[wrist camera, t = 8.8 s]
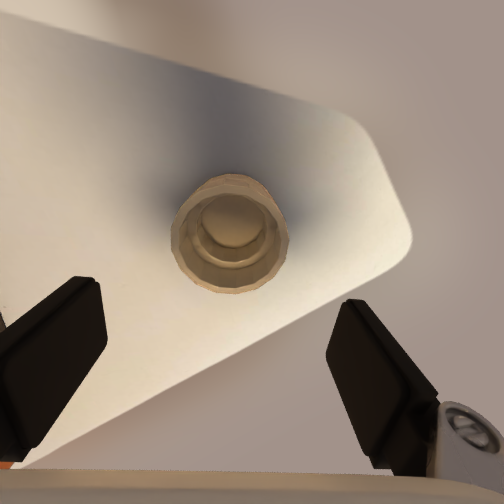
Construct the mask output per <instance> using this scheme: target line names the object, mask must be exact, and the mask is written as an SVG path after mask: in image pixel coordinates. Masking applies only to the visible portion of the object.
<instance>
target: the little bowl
mask: <svg viewBox="0 0 504 504" xmlns="http://www.w3.org/2000/svg"><path fill="white" fill-rule="evenodd" d="M288 245H289V236H288V231H287V227H286V222H285V219H284V217H283V215H282V213H281V211H280V210H279V208H278V206H277V204H276V202H275V201H274V199H273V198H272V196H271V195H270V194H269V192H268V191H267V190H266V188H265V187H264V186H263V185H262V184H261V183H259V182H257V181H255V180H254V179H252V178H250V177H249V176H246V175H239V174H231V173H228V174H223V175H220V176H217V177H213V178H211V179H209V180H207V181H206V182H205V183H204V184H203V185H202V186H200V187H199V188H198V189H197V190H196V191H195V192H194V193H193V194H192V195H191V196H190V197H189V198H188V199H187V200H186V202H185V203H184V204H183V205H182V206H181V207H180V209H179V211H178V213H177V215H176V218H175V220H174V222H173V224H172V226H171V250H172V253H173V255H174V257H175V259H176V261H177V263H178V266H179V268H180V269H181V271H182V272H184V273H185V274H186V275H187V276H188V277H189V278H190V279H191V280H192V281H193V282H194V283H195V284H197V285H199V286H201V287H204V288H206V289H208V290H211V291H213V292H216V293H227V294H239V293H243V292H247V291H251V290H255V289H257V288H259V287H260V286H262V285H263V284H265V283H266V282H268V281H269V280H271V279H272V278H273V277H274V276H275V275H276V273H277V272H278V270H279V269H280V267H281V266H282V265H283V263H284V262H285V260H286V255H287V250H288Z"/></svg>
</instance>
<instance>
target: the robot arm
mask: <svg viewBox="0 0 504 504" xmlns="http://www.w3.org/2000/svg"><path fill="white" fill-rule="evenodd" d="M107 341H108V336H107V330H106V323H105V316H104V310H103V303H102V296H101V290H100V284H99V283H98V282H95V279H94V278H92V277H81V276H74V277H72V278H71V279H69V280H68V281H67V282H66V283H64V284H63V285H62V286H60V287H59V288H58V289H57V290H55V291H54V292H53V293H51V294H50V295H49V296H47V297H46V298H45V299H44V300H42V301H41V302H40V303H38V304H37V305H36V306H34V307H33V308H32V309H31V310H29V311H28V312H27V313H25V314H24V315H23V316H21V317H20V318H19V319H18V320H16V321H15V322H14V323H12V324H11V325H10V326H8V327H7V328H6V329H5V330H3V331H2V332H1V333H0V462H23V460H24V459H25V457H26V456H27V454H28V453H29V451H30V450H31V449H32V448H35V447H37V446H38V445H39V444H40V443H41V442H42V440H43V439H44V437H45V436H46V434H47V433H48V431H49V430H50V428H51V427H52V425H53V424H54V423H55V421H56V420H57V418H58V417H59V415H60V414H61V412H62V411H63V409H64V408H65V406H66V405H67V403H68V402H69V400H70V399H71V397H72V396H73V395H74V393H75V392H76V390H77V389H78V387H79V386H80V384H81V383H82V381H83V380H84V378H85V377H86V375H87V374H88V372H89V371H90V369H91V368H92V367H93V365H94V364H95V362H96V361H97V359H98V358H99V356H100V355H101V353H102V352H103V350H104V349H105V347H106V345H107ZM326 361H327V363H328V366H329V368H330V371H331V373H332V376H333V378H334V381H335V383H336V386H337V388H338V391H339V393H340V396H341V398H342V401H343V404H344V406H345V408H346V411H347V413H348V416H349V419H350V421H351V424H352V426H353V429H354V431H355V434H356V436H357V439H358V441H359V444H360V446H361V449H362V451H363V453H364V454H365V455H366V456H369V458H370V461H371V463H372V466H373V468H374V469H391V470H392V472H393V474H394V476H384V475H362V474H361V475H360V474H315V473H275V472H274V473H273V472H221V471H220V472H219V471H161V470H81V469H80V470H79V469H0V504H504V438H503V437H502V435H501V434H500V432H499V431H498V430H497V429H496V428H495V427H494V426H493V425H492V424H491V423H490V422H489V421H488V420H487V419H485V418H484V417H483V416H482V415H480V414H479V413H477V412H476V411H474V410H472V409H471V408H469V407H467V406H465V405H462V404H460V403H456V402H452V401H448V402H447V401H446V402H443V403H442V404H441V403H440V402H439V401H438V400H437V398H436V396H437V395H438V392H437V391H436V389H435V388H434V387H433V386H432V385H431V383H430V382H429V381H428V380H427V378H426V377H425V376H424V374H423V373H422V372H421V371H420V370H419V368H418V367H417V366H416V365H415V363H414V362H413V361H412V359H411V358H410V357H409V356H408V355H407V353H406V352H405V351H404V350H403V348H402V347H401V346H400V345H399V343H398V342H397V341H396V340H395V338H394V337H393V336H392V335H391V333H390V332H389V331H388V330H387V329H386V327H385V326H384V325H383V323H382V322H381V321H380V320H379V318H378V317H377V316H376V315H375V313H374V312H373V311H372V310H371V308H370V307H369V306H368V305H367V303H366V302H365V301H364V300H357V299H348V300H347V301H346V302H343V303H342V305H341V308H340V311H339V314H338V317H337V320H336V323H335V326H334V329H333V332H332V335H331V338H330V341H329V344H328V347H327V350H326Z"/></svg>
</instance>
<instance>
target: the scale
mask: <svg viewBox="0 0 504 504" xmlns="http://www.w3.org/2000/svg"><path fill="white" fill-rule="evenodd" d="M5 329H6V328H5V325H4V323H3V320H2V317H1V315H0V333H1V332H2V331H3V330H5Z"/></svg>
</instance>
